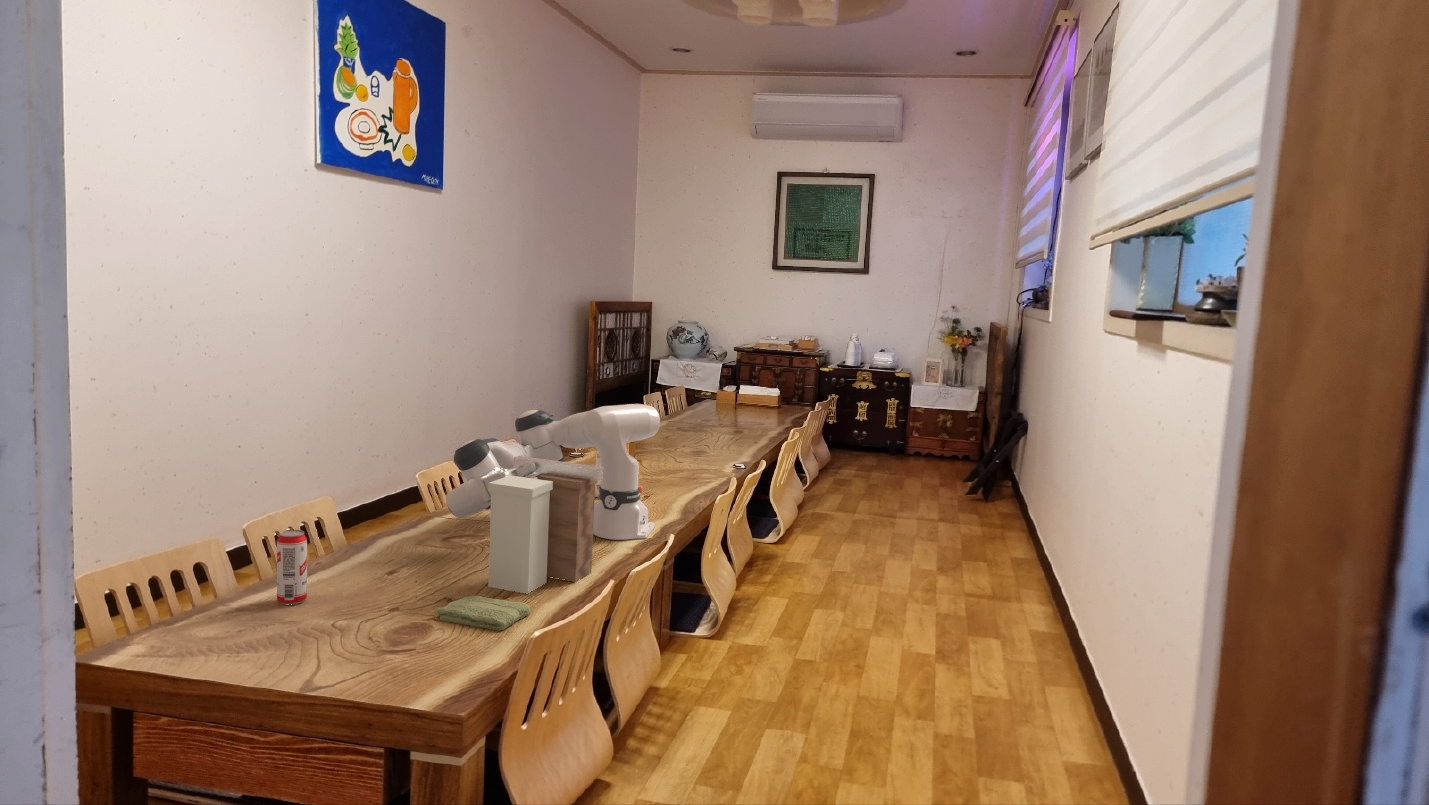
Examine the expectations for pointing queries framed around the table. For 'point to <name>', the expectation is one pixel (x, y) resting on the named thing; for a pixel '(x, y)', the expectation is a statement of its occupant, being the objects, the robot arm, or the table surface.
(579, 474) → the bar
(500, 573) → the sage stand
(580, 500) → the walnut stand
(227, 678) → the table surface
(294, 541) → the beer can
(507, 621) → the washcloth
